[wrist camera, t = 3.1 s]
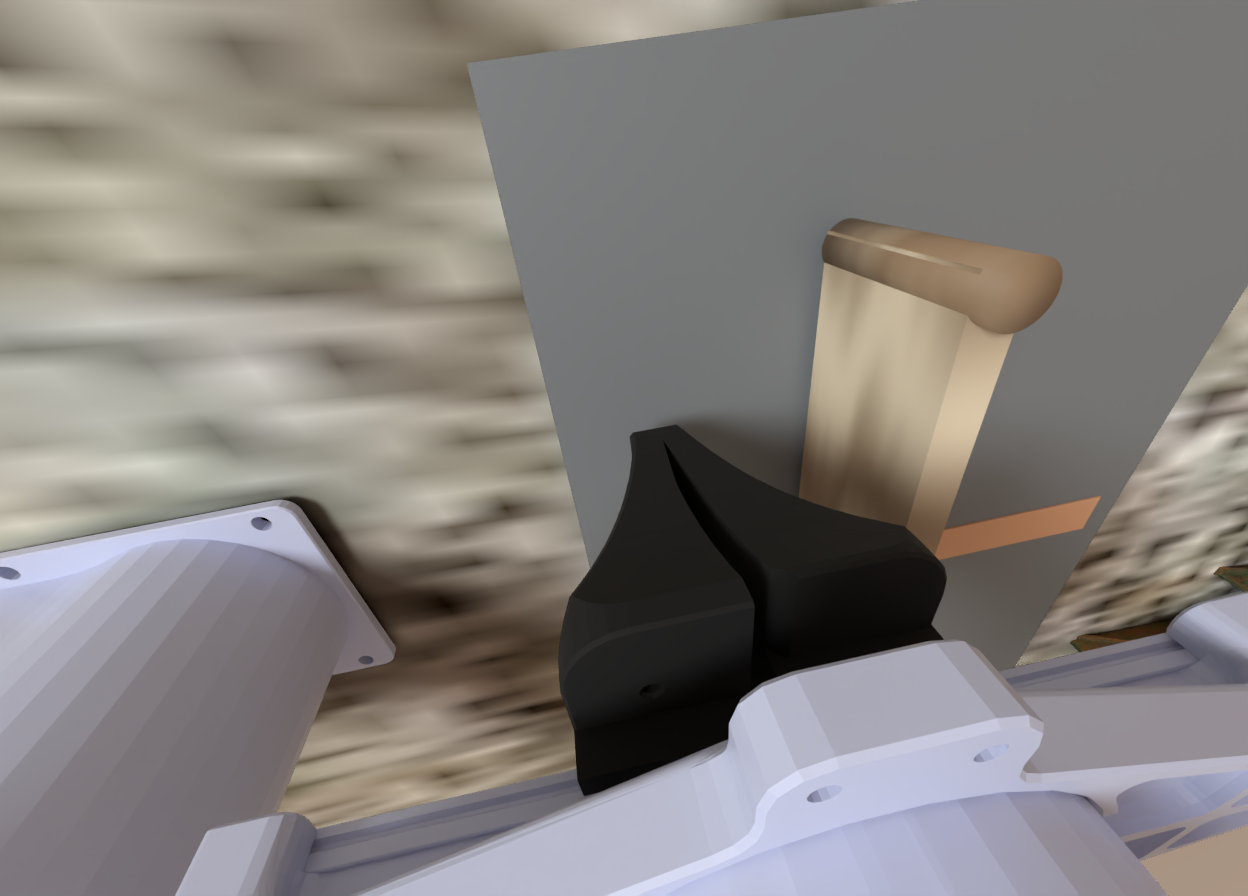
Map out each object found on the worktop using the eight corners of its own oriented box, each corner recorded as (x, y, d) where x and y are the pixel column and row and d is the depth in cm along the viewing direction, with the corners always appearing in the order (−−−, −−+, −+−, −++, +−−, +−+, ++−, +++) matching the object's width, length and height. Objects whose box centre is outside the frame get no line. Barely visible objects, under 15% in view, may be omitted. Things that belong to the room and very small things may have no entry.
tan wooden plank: (817, 563, 18) (903, 687, 14) (788, 569, 18) (865, 697, 13) (871, 214, 11) (1075, 249, 7) (824, 222, 11) (1001, 262, 7)
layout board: (640, 767, 27) (663, 908, 22) (470, 68, 9) (389, -38, 4) (989, 684, 28) (1086, 798, 23) (1423, -65, 11) (2221, -266, 6)
